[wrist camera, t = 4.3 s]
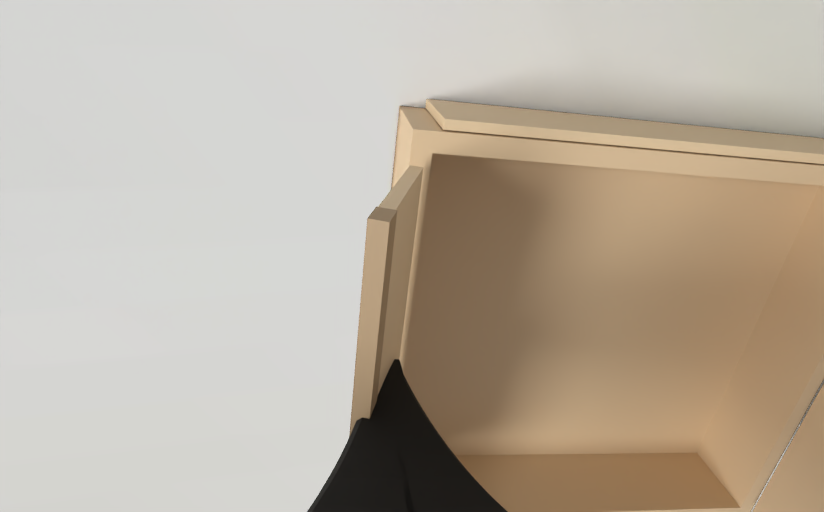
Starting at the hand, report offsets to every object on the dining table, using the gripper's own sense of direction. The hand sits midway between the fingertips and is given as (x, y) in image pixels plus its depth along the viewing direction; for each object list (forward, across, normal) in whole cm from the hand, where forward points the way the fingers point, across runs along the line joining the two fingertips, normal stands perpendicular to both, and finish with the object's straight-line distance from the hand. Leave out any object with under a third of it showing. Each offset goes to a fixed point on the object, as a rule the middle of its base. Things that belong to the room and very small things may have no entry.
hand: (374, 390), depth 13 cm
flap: (+1, -1, 0) cm, 2 cm away
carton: (+4, -7, 0) cm, 9 cm away
